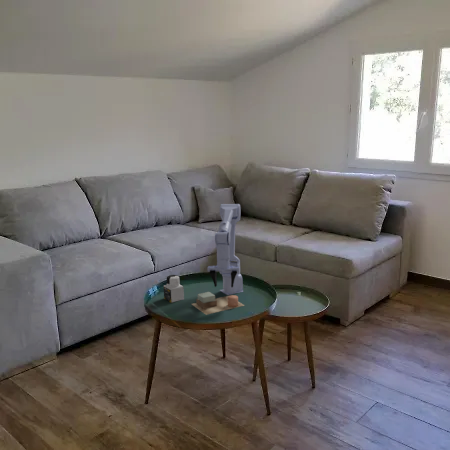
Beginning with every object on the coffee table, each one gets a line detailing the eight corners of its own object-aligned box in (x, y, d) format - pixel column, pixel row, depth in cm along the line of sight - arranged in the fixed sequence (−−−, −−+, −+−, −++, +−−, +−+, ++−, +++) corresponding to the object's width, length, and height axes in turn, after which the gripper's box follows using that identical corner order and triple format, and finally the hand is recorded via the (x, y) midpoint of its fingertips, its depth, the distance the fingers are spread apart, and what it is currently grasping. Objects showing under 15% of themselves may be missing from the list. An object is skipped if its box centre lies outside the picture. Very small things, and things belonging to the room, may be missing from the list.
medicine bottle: (163, 299, 236) (162, 275, 233) (176, 296, 240) (175, 272, 237) (171, 303, 230) (170, 279, 228) (184, 300, 234) (183, 276, 232)
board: (228, 296, 237) (228, 295, 237) (244, 306, 224) (244, 305, 224) (191, 305, 228) (191, 304, 228) (206, 315, 215) (206, 314, 215)
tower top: (209, 296, 229) (209, 291, 229) (215, 300, 224) (215, 295, 224) (197, 299, 226) (197, 294, 226) (203, 303, 221) (203, 298, 221)
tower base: (209, 301, 231) (209, 296, 230) (216, 305, 225) (216, 300, 224) (196, 304, 227) (196, 299, 227) (203, 309, 221) (203, 303, 221)
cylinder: (234, 302, 228) (234, 294, 227) (240, 305, 224) (239, 297, 223) (225, 304, 226) (225, 296, 225) (231, 308, 221) (230, 299, 221)
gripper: (205, 259, 218) (206, 288, 221) (238, 260, 216) (238, 289, 219) (208, 255, 225) (209, 283, 228) (240, 256, 222) (240, 284, 225)
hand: (224, 286), depth 224 cm, fingers open, 7 cm apart
